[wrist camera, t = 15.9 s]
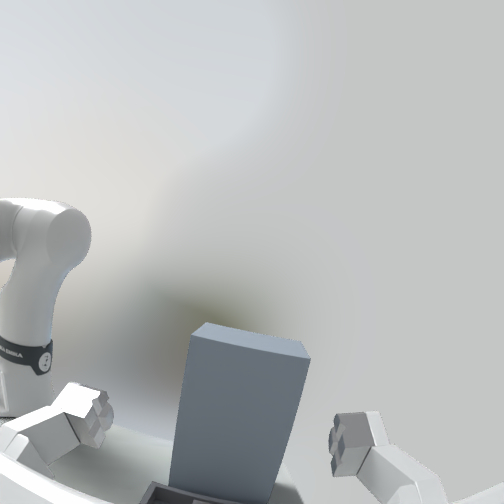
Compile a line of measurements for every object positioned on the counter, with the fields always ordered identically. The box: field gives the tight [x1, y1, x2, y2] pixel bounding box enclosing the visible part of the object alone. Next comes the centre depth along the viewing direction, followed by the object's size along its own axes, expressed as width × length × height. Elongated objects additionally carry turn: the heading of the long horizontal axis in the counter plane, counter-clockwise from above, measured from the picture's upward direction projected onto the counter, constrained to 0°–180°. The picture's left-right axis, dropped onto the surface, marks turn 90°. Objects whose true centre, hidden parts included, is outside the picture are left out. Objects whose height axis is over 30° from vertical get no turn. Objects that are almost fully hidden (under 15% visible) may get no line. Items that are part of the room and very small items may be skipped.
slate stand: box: [168, 322, 311, 504], centre depth 38 cm, size 14×10×26 cm
